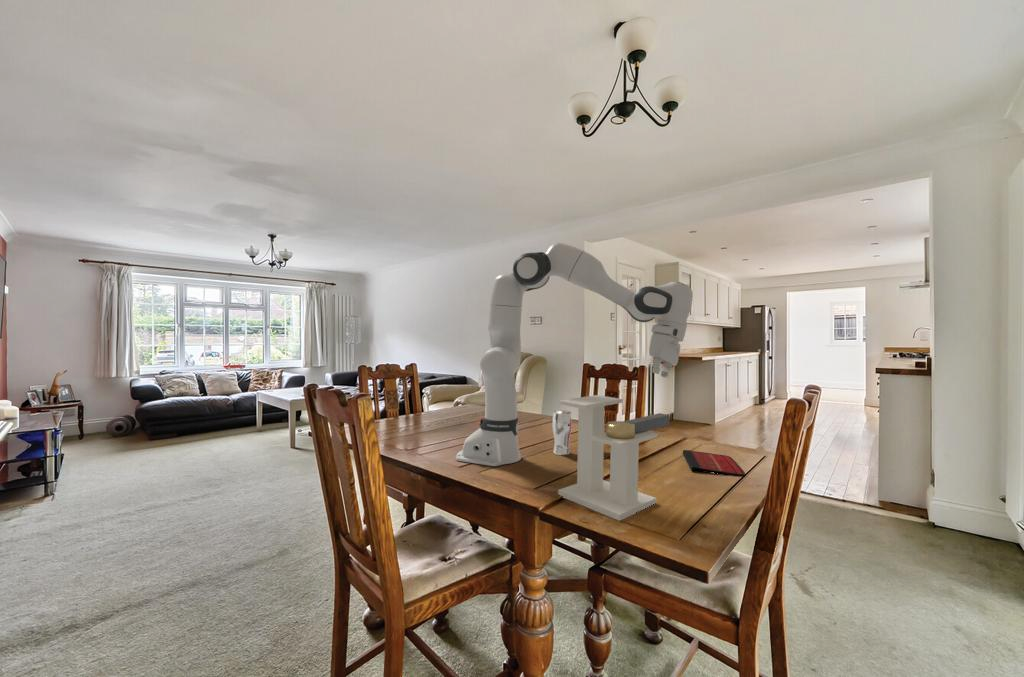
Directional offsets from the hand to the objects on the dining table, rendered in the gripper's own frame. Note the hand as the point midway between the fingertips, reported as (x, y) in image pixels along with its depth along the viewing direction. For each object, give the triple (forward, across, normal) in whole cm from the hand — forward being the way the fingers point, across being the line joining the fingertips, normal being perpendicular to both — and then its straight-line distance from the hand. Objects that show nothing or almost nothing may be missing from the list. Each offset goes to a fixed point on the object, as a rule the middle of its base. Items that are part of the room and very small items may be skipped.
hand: (659, 375), depth 137 cm
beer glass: (+35, -7, -30) cm, 47 cm away
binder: (+25, -26, +16) cm, 39 cm away
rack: (+37, +23, +1) cm, 44 cm away
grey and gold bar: (+17, +22, +5) cm, 28 cm away
